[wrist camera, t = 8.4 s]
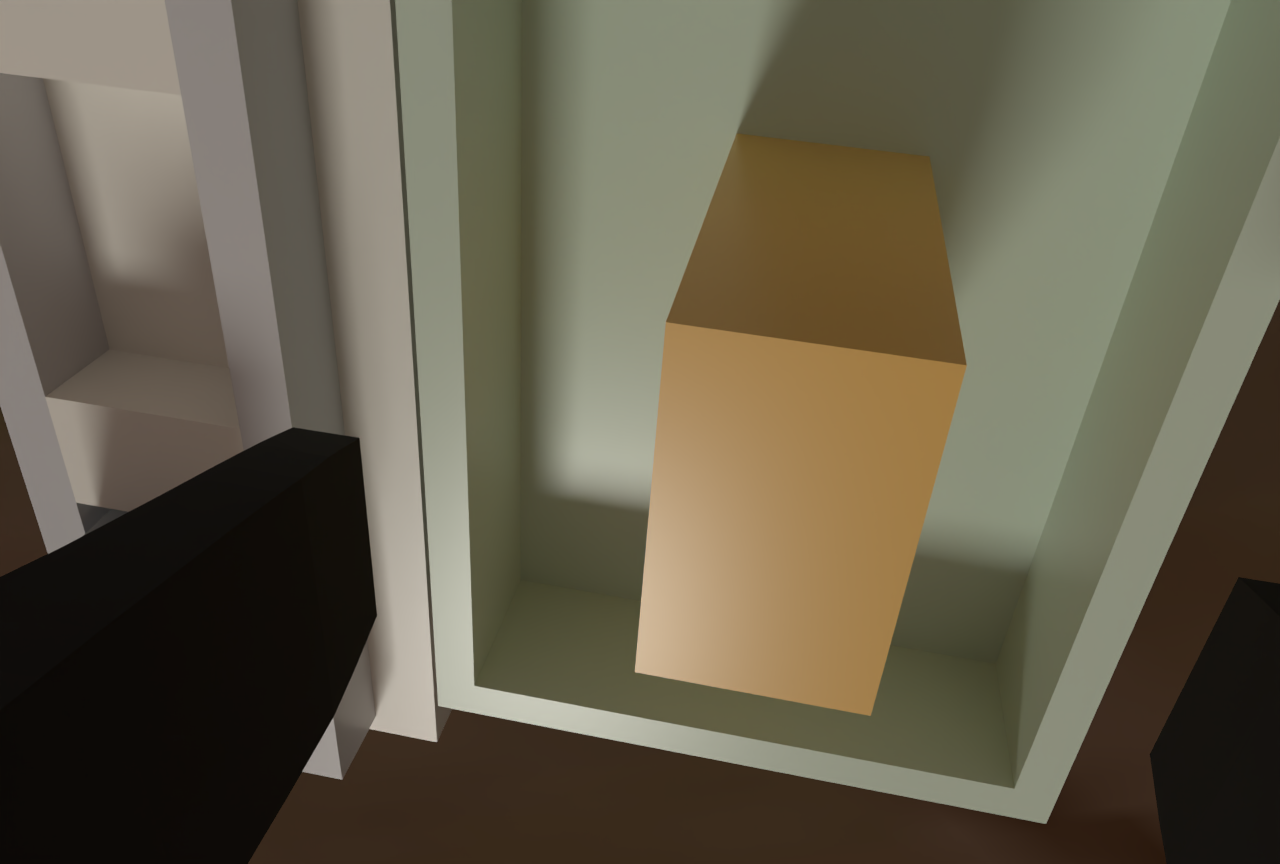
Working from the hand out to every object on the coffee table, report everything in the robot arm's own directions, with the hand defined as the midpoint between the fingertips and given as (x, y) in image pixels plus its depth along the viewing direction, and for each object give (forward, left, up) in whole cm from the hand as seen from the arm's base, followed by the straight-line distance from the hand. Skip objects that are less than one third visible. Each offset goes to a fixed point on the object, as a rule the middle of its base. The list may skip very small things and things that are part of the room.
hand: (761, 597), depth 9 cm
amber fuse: (0, 0, -6) cm, 6 cm away
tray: (0, 0, -7) cm, 7 cm away
